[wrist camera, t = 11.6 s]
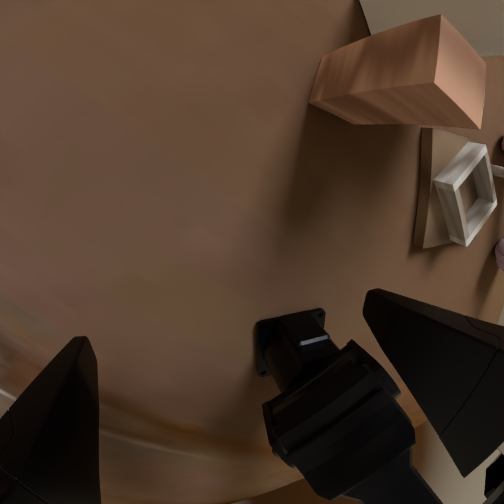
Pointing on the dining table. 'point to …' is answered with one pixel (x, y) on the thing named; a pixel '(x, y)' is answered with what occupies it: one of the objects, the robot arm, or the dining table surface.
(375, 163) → the dining table surface
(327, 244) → the dining table surface
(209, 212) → the dining table surface
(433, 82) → the peg
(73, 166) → the dining table surface
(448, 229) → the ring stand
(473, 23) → the milk carton
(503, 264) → the headphones
